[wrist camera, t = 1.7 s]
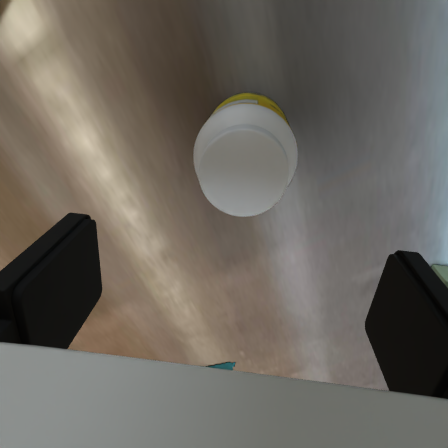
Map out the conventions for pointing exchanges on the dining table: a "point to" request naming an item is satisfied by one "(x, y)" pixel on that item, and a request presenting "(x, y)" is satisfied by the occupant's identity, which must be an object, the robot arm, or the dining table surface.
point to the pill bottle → (245, 155)
